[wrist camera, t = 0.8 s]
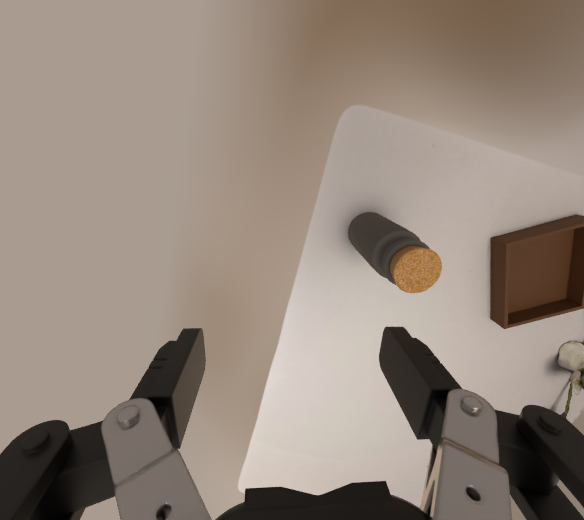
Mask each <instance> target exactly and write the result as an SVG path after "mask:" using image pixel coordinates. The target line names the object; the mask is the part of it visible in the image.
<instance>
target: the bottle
mask: <svg viewBox="0 0 584 520" xmlns="http://www.w3.org/2000/svg"><path fill="white" fill-rule="evenodd" d="M348 235H349V240H350V242H351V244H352V245H353V246H354V247H355V249H356V250H357V251H358V252H359V253H360V254H361V255H362V256H363V257H364V259H365V260H366V261H367V262H368V263H369V264H370V265H371V266H372V267H373V269H374V270H375V271H376V272H377V273H379V274H380V275H381V276H383V277H385V278H387V279H388V280H389V281H390V282H392V283H393V284H395V285H397V286H398V287H399V288H400V289H401V290H403V291H405V292H408V293H418V292H422V291H425V290H427V289H428V288H430V287H431V286H432V285H433V284H434V283H435V282H436V281H437V279H438V278H439V276H440V273H441V268H442V265H441V260H440V258H439V256H438V255H437V254H436V253H435V252H434V251H432V250H430V248H429V247H428V246H427V245H426V244H424V243H423V242H421V241H420V239H419V238H418V237H417V236H416V235H415V234H414V233H412V232H410V231H409V230H407V229H405V228H403V227H402V226H400V225H398V224H396V223H394V222H392V221H391V220H389V219H387V218H385V217H383V216H381V215H379V214H377V213H372V212H367V213H363V214H361V215H359V216H357V217H356V218H355V219H354V220H353V221H352V223H351V225H350V227H349V232H348Z"/></svg>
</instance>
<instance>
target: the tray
mask: <svg viewBox="0 0 584 520" xmlns="http://www.w3.org/2000/svg"><path fill="white" fill-rule="evenodd" d="M583 308H584V216H580V215H574V216H570V217H567V218H563V219H559V220H556V221H552V222H548V223H545V224H541V225H537V226H534V227H530V228H526V229H523V230H519V231H515V232H512V233H508V234H504V235H501V236H497V237H493V238H491V320H493V321H494V322H496V323H497V324H498V325H500V326H501V327H502V328H504V329H506V328H510V327H514V326H518V325H522V324H526V323H529V322H533V321H537V320H541V319H545V318H549V317H552V316H556V315H560V314H564V313H568V312H572V311H575V310H579V309H583Z"/></svg>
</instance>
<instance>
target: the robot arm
mask: <svg viewBox="0 0 584 520" xmlns="http://www.w3.org/2000/svg"><path fill="white" fill-rule="evenodd" d="M205 361H206V359H205V347H204V336H203V330H202V329H201V328H191V329H183V330H182V332H181V333H180V335H179V337H178V339H177V341H169V342H167V343H166V344H165V345H164V346H163V347H161V348H160V349H159V351H158V352H157V354H156V356H155V358H154V360H153V361H152V362H151V364H150V366H149V369H147V371H146V372H145V374H144V376H143V377H142V379H141V381H140V383H139V384H138V386H137V388H136V389H135V391H134V393H133V394H132V396H131V398H130V399H129V400H128V401H125V402H123V403H121V404H119V405H118V406H116V407H115V408H113V409H112V410H111V411H110V412H109V413H108V414H107V416H106V417H105V419H104V420H103V421H101V422H98V423H95V424H91V425H88V426H85V427H81V428H78V429H74V430H71V431H70V429H69V427H68V425H67V423H66V422H64V421H60V420H52V421H47V422H43V423H41V424H38V425H36V426H33V427H31V428H30V429H28V430H26V431H25V432H23V433H22V434H20V435H19V436H18V437H16V438H15V439H14V440H13V441H12V442H11V443H10V444H9V445H8V446H7V447H6V448H5V450H4V451H3V452H2V453H1V454H0V520H80V518H81V516H82V514H83V512H84V510H85V508H86V507H88V506H91V505H93V504H96V503H99V502H101V501H104V500H106V499H109V498H111V497H114V496H115V497H116V501H117V506H118V510H119V514H120V519H121V520H212V519H211V517H210V515H209V513H208V511H207V509H206V507H205V505H204V502H203V500H202V498H201V496H200V495H199V492H198V490H197V488H196V486H195V484H194V481H193V479H192V477H191V475H190V473H189V471H188V469H187V467H186V464H185V462H184V460H183V458H182V456H181V454H180V452H179V451H178V449H179V448H180V447H181V443H182V440H183V437H184V434H185V431H186V428H187V424H188V422H189V418H190V415H191V412H192V409H193V406H194V403H195V399H196V396H197V393H198V390H199V387H200V384H201V381H202V377H203V374H204V370H205ZM379 362H380V367H381V370H382V372H383V374H384V376H385V378H386V379H387V381H388V383H389V385H390V387H391V389H392V391H393V393H394V395H395V397H396V399H397V401H398V403H399V405H400V407H401V409H402V411H403V413H404V414H405V416H406V418H407V420H408V422H409V424H410V426H411V428H412V430H413V432H414V434H415V436H416V438H417V439H430V441H431V443H432V444H433V445H432V448H431V452H430V458H429V463H428V469H427V475H426V480H425V486H424V491H423V497H422V502H421V506H420V509H419V508H418V507H416V506H415V505H413V504H412V503H410V502H408V501H406V500H404V499H402V498H399V497H396V496H394V495H390V492H389V489H388V486H387V484H386V481H379V482H360V483H351V484H348V485H346V486H343V487H340V488H338V489H335V490H333V491H330V492H328V493H325V494H322V495H312V494H308V493H304V492H300V491H296V490H292V489H288V488H284V487H268V488H250V489H246V490H245V502H243V503H241V504H238V505H236V506H234V507H232V508H230V509H229V510H227V511H226V512H224V513H223V514H222V515H220V516H219V517H218V518H217V519H216V520H512V514H511V502H510V495H511V497H512V498H513V499H514V501H515V503H516V504H517V506H518V507H519V509H520V510H521V512H522V513H523V515H524V516H525V518H526V519H527V520H584V518H583V517H582V515H581V514H580V513H579V512H578V511H577V509H576V508H575V507H574V506H573V504H572V503H571V502H570V501H569V499H568V498H567V497H566V496H565V495H564V493H563V492H562V491H561V490H560V488H559V487H558V486H557V483H558V481H559V479H560V480H561V481H562V482H563V483H564V485H565V486H566V487H567V488H568V489H569V491H570V492H571V493H572V494H573V495H574V496H575V498H576V499H577V500H578V501H579V502H580V503H581V505H582V506H583V508H584V435H583V434H582V433H581V432H580V431H579V430H577V428H575V427H574V426H573V425H572V424H571V423H570V422H569V421H568V420H566V419H565V418H564V417H562V416H561V415H559V414H557V413H555V412H554V411H551V410H549V409H547V408H544V407H541V406H536V405H528V406H525V407H524V408H523V409H522V412H521V414H520V415H515V414H511V413H507V412H502V411H498V410H494V408H493V407H492V406H491V405H490V403H488V402H487V401H486V400H485V399H484V398H482V397H481V396H479V395H477V394H476V393H473V392H471V391H468V390H464V389H462V388H461V387H460V385H459V384H458V383H457V382H456V381H455V379H454V378H453V377H452V376H451V374H450V373H449V372H448V371H447V370H446V368H445V367H444V366H443V365H442V363H441V364H440V361H439V360H438V359H437V357H436V356H434V354H433V353H432V351H431V350H430V349H429V348H428V346H427V345H425V344H424V343H422V342H421V341H420V340H418V339H417V338H412V337H411V336H410V334H409V333H408V332H407V330H406V329H405V328H404V327H385V329H384V331H383V337H382V342H381V348H380V354H379Z"/></svg>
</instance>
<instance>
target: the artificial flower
mask: <svg viewBox="0 0 584 520" xmlns="http://www.w3.org/2000/svg"><path fill="white" fill-rule="evenodd" d="M569 342H571V343H565V344H563V345H562V347H561V348H560V349H559V359H558V364H559V365H560V366H562V367H563V368H567V369H569V370H572V371H573V372H572V373H573V374H572V375H571V376H570V381H571V384H570V389H569V393H568V401H567V405H566V410H565V412H564V413H562V415H561V416H562V417H564V418H565V419H566V416H567V413H568V411H569V403H570V400H571V396H572V389H573V392H574V393H575V394H576V395H579V393H580V391H581V388H583V389H584V346H583V345H582V344H581V343H577V342H574V341H569ZM566 420H567V419H566Z"/></svg>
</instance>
